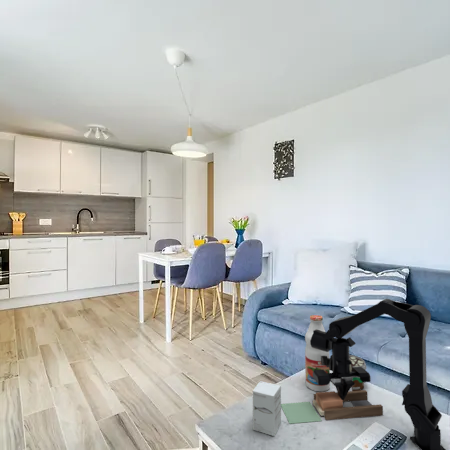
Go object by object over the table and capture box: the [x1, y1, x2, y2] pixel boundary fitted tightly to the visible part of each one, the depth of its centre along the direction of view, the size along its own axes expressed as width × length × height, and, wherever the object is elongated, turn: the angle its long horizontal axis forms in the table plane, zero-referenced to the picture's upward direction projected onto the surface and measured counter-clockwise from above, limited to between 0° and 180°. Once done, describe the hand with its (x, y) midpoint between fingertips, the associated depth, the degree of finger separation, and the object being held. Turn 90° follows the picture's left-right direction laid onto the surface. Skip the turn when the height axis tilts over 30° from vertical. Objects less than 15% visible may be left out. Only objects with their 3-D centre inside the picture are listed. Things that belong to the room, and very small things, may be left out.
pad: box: [281, 401, 323, 425], centre depth 105 cm, size 11×11×1 cm
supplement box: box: [252, 380, 282, 437], centre depth 98 cm, size 7×7×13 cm
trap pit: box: [350, 400, 373, 407], centre depth 107 cm, size 7×6×1 cm
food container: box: [349, 354, 367, 391], centre depth 122 cm, size 12×6×10 cm, turn 168°
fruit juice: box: [304, 314, 331, 392], centre depth 122 cm, size 9×9×28 cm
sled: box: [312, 390, 344, 417], centre depth 106 cm, size 7×8×4 cm
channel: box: [313, 389, 384, 421], centre depth 107 cm, size 10×20×3 cm, turn 96°
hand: (341, 400), depth 107 cm, fingers closed
